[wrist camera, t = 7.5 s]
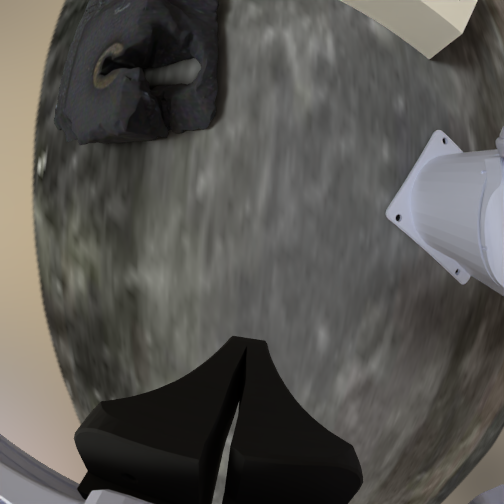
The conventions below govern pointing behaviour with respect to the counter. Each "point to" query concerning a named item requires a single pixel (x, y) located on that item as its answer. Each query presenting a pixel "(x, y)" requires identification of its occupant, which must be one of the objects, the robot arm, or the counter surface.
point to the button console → (420, 20)
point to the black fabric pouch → (137, 71)
